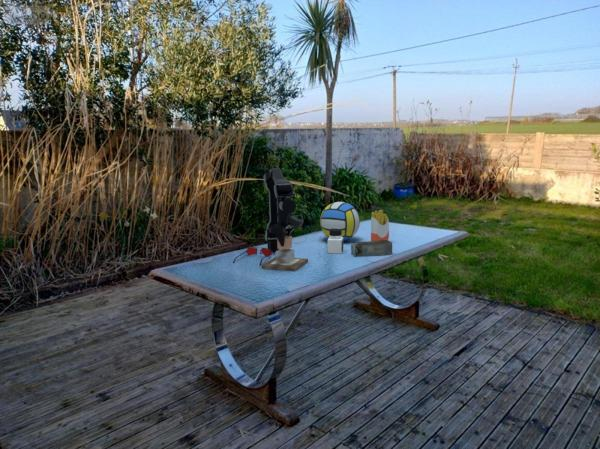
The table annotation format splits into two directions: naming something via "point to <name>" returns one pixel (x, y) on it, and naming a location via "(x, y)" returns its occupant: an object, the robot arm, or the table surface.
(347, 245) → the table surface
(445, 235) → the table surface
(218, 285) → the table surface
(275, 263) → the base board
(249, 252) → the glasses
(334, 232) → the medicine bottle
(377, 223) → the french fries container
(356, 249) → the beverage carton
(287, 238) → the terracotta block
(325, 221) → the volleyball
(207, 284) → the table surface
